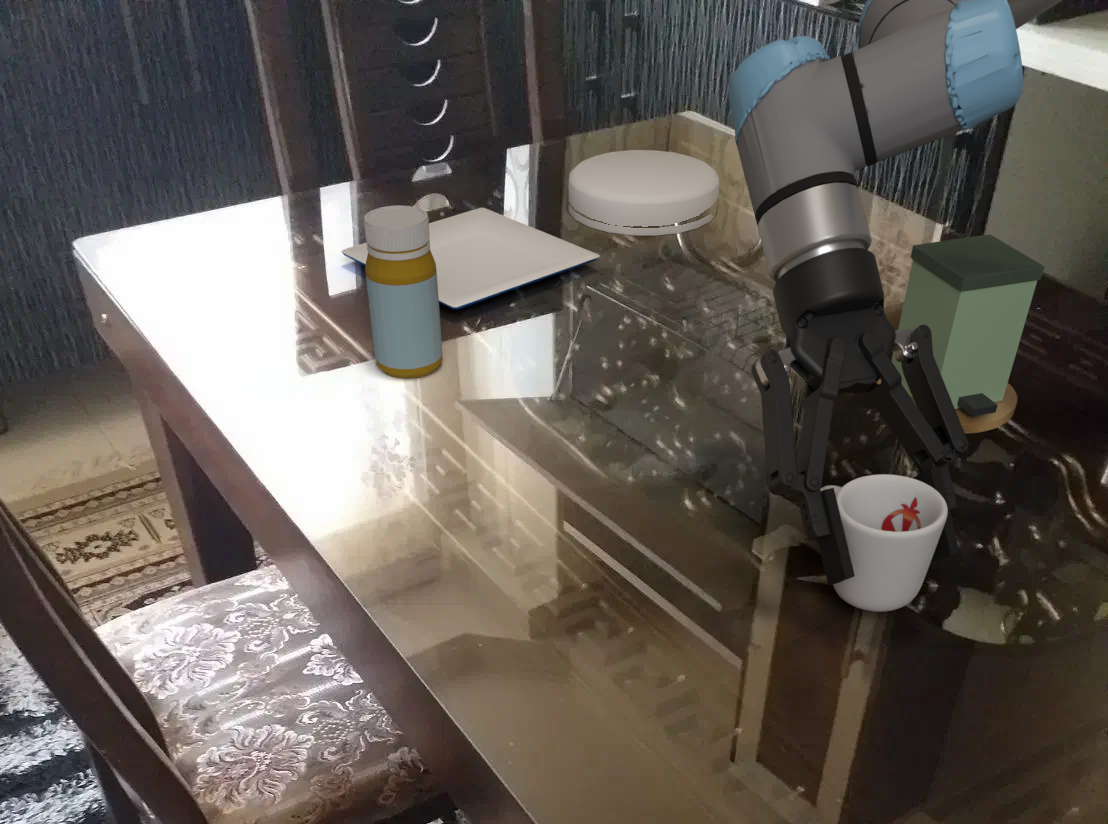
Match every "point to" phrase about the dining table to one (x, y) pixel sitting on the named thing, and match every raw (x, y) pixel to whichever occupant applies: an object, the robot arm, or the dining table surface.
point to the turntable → (988, 420)
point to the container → (642, 192)
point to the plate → (490, 256)
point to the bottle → (402, 292)
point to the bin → (970, 314)
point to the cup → (888, 538)
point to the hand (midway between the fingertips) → (893, 568)
